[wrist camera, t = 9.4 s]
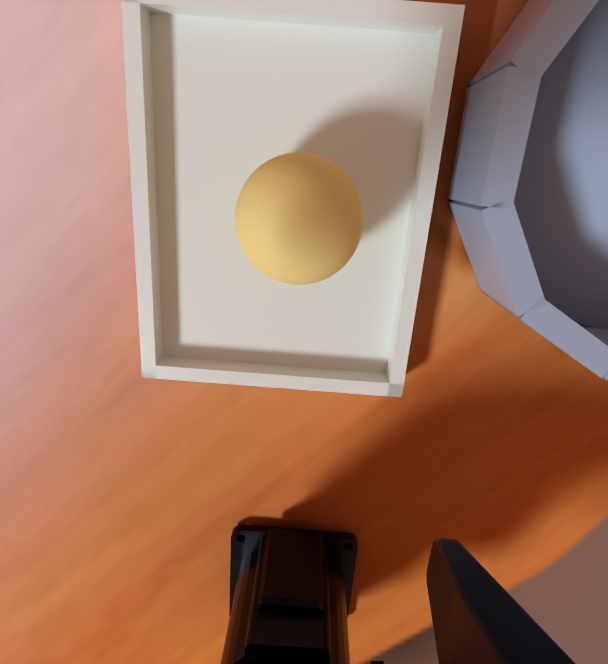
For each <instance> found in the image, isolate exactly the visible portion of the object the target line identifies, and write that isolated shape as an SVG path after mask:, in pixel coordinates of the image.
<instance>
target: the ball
mask: <svg viewBox="0 0 608 664" xmlns="http://www.w3.org/2000/svg"><path fill="white" fill-rule="evenodd" d="M363 221H364V215H363V206H362V201H361V198H360V195H359V193H358V191H357V188H356V186H355V185H354V183H353V182H352V180H351V178H350V177H349V176H348V175H347V174H346V172H345V171H344V170H342V169H341V168H340V167H339V166H338V165H336V164H335V163H333V162H332V161H330V160H329V159H326V158H324V157H322V156H319V155H316V154H312V153H305V152H293V153H286V154H283V155H279V156H276V157H274V158H272V159H270V160H268V161H266V162H265V163H263V164H261V165H260V166H259V167H258V168H257V169H256V170H255V171H254V172H253V173H252V174H251V175H250V176H249V177H248V179H247V180H246V182H245V183H244V185H243V187H242V189H241V191H240V194H239V197H238V199H237V204H236V209H235V228H236V234H237V237H238V240H239V243H240V246H241V248H242V250H243V252H244V253H245V255H246V256H247V258H248V259H249V261H250V262H251V263H252V264H253V265H254V266H255V267H256V268H257V269H258V270H259V271H261V272H262V273H264V274H265V275H266V276H268V277H270V278H272V279H274V280H276V281H279V282H282V283H287V284H292V285H306V284H312V283H316V282H319V281H322V280H325V279H327V278H329V277H331V276H332V275H334V274H335V273H337V272H338V271H339V270H341V269H342V268H343V267H344V266H345V265H346V264H347V263H348V261H349V260H350V259H351V257H352V256H353V254H354V252H355V251H356V249H357V247H358V244H359V242H360V239H361V235H362V230H363Z"/></svg>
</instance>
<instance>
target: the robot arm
mask: <svg viewBox="0 0 608 664" xmlns="http://www.w3.org/2000/svg"><path fill="white" fill-rule="evenodd" d="M240 534H241V535H244V536H239V535H240ZM345 543H350V544H345ZM357 548H358V547H357V538H356V537H355V536H354V535H353V534H350V533H342V532H329V531H316V530H303V529H290V528H277V527H264V526H251V525H238V526H236V527H235V528H234V529H233V532H232V536H231V567H230V614H229V615H230V619H229V624H228V629H227V635H226V640H225V645H224V650H223V655H222V660H221V664H350V655H349V640H348V625H347V617H348V611H349V604H350V597H351V590H352V583H353V576H354V569H355V562H356V555H357ZM427 587H428V594H429V600H430V607H431V614H432V620H433V627H434V633H435V640H436V647H437V653H438V660H439V664H575V663H574V662H573V661H572V659H571V658H570V657H569V656H568V655H567V654H566V653H565V652H564V651H563V650H562V649H561V648H560V647H559V646H558V645H557V644H556V643H555V642H554V641H553V640H552V639H551V638H550V637H549V636H548V634H547V633H546V632H545V631H544V630H543V629H542V628H541V627H540V626H539V625H538V624H537V623H536V622H535V621H534V620H533V619H532V618H531V617H530V616H529V615H528V614H527V613H526V611H525V610H524V609H523V608H522V607H521V606H520V605H519V604H518V603H517V602H516V601H515V600H514V599H513V598H512V597H511V596H510V595H509V594H508V593H507V592H506V590H505V589H504V588H503V587H502V586H501V585H500V584H499V583H498V582H497V581H496V580H495V579H494V578H493V577H492V576H491V575H490V574H489V573H488V572H487V571H486V570H485V569H484V567H483V566H482V565H481V564H480V563H479V562H478V561H477V560H476V559H475V558H474V557H473V556H472V555H471V554H470V553H469V552H468V551H467V550H466V549H465V548H464V547H463V546H462V544H461V543H460V542H458V541H457V540H454V539H444V538H437V539H435V540H434V542H433V545H432V549H431V554H430V558H429V563H428V568H427ZM370 664H384V663H383V661H370Z"/></svg>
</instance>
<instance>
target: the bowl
mask: <svg viewBox="0 0 608 664" xmlns="http://www.w3.org/2000/svg"><path fill="white" fill-rule="evenodd" d="M469 85H471V86H470V87H468V88H467V91H466V97H465V103H464V109H463V114H462V120H461V126H460V132H459V138H458V143H457V149H456V155H455V161H454V167H453V172H452V178H451V184H450V190H449V196H448V199H451V200H452V201H450V202H448V203H449V206H450V208H451V211H452V214H453V217H454V219H455V222H456V225H457V228H458V230H459V233H460V236H461V238H462V241H463V244H464V247H465V249H466V252H467V255H468V257H469V260H470V263H471V266H472V268H473V271H474V274H475V276H476V279H477V282H478V285H479V287H480V289H481V290H482V292H483V293H485V294H486V295H488V296H489V297H490V298H492V299H493V300H494V301H496V302H497V303H498V304H500V305H501V306H502V307H504V308H505V309H506V310H508V311H509V312H510V313H512V314H513V315H514V316H516V317H517V318H518V319H520V320H521V321H523V322H524V323H525V324H527V325H528V326H529V327H531V328H532V329H534V330H535V331H536V332H538V333H539V334H541V335H542V336H543V337H545V338H546V339H547V340H549V341H550V342H552V343H553V344H554V345H556V346H557V347H559V348H560V349H561V350H563V351H564V352H566V353H567V354H568V355H570V356H571V357H572V358H574V359H575V360H577V361H578V362H579V363H581V364H582V365H584V366H585V367H586V368H588V369H589V370H590V371H592V372H593V373H595V374H596V375H597V376H599V377H600V378H603V379H605V380H608V0H528V2H527V3H526V4H525V6H524V7H523V9H522V10H521V11H520V13H519V14H518V16H517V17H516V19H515V20H514V21H513V23H512V24H511V26H510V27H509V28H508V30H507V31H506V33H505V34H504V35H503V37H502V38H501V40H500V41H499V42H498V44H497V45H496V47H495V48H494V49H493V51H492V52H491V54H490V55H489V56H488V58H487V59H486V61H485V62H484V63H483V65H482V66H481V68H480V69H479V70H478V72H477V73H476V75H475V76H474V77H473V79H472V80H471V82H470V83H469Z"/></svg>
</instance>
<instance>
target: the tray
mask: <svg viewBox="0 0 608 664" xmlns="http://www.w3.org/2000/svg"><path fill="white" fill-rule="evenodd" d="M121 10H122V28H123V46H124V64H125V82H126V100H127V118H128V136H129V153H130V171H131V189H132V207H133V225H134V243H135V261H136V279H137V297H138V315H139V333H140V350H141V368H142V377H143V378H156V379H169V380H182V381H196V382H209V383H222V384H235V385H248V386H261V387H274V388H287V389H300V390H313V391H326V392H339V393H352V394H365V395H378V396H392V397H402V392H403V386H404V380H405V374H406V367H407V361H408V355H409V349H410V343H411V337H412V330H413V324H414V318H415V312H416V306H417V300H418V294H419V287H420V281H421V275H422V269H423V263H424V257H425V250H426V244H427V238H428V232H429V226H430V220H431V213H432V207H433V201H434V195H435V189H436V183H437V177H438V170H439V164H440V158H441V152H442V146H443V140H444V133H445V127H446V121H447V115H448V109H449V103H450V97H451V90H452V84H453V78H454V72H455V66H456V60H457V53H458V47H459V41H460V35H461V29H462V23H463V16H464V10H465V5H459V4H446V3H433V2H419V1H406V0H121ZM293 152H305V153H312V154H316V155H319V156H322V157H324V158H326V159H329V160H330V161H332V162H333V163H335V164H336V165H338V166H339V167H340V168H341V169H342V170H344V171H345V172H346V174H347V175H348V176H349V177H350V178H351V180H352V182H353V183H354V185H355V186H356V188H357V191H358V193H359V195H360V198H361V201H362V206H363V215H364V221H363V230H362V235H361V239H360V242H359V244H358V247H357V249H356V251H355V252H354V254H353V256H352V257H351V259H350V260H349V261H348V263H347V264H346V265H345V266H344V267H343V268H342V269H341V270H339V271H338V272H337V273H335V274H334V275H332V276H331V277H329V278H327V279H325V280H322V281H319V282H316V283H312V284H306V285H292V284H287V283H282V282H279V281H276V280H274V279H272V278H270V277H268V276H266V275H265V274H264V273H262V272H261V271H259V270H258V269H257V268H256V267H255V266H254V265H253V264H252V263H251V262H250V261H249V259H248V258H247V256H246V255H245V253H244V252H243V250H242V248H241V246H240V243H239V240H238V237H237V234H236V228H235V209H236V204H237V199H238V197H239V194H240V191H241V189H242V187H243V185H244V183H245V182H246V180H247V179H248V177H249V176H250V175H251V174H252V173H253V172H254V171H255V170H256V169H257V168H258V167H259V166H260V165H261V164H263V163H265V162H266V161H268V160H270V159H272V158H274V157H276V156H279V155H283V154H286V153H293Z"/></svg>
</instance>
